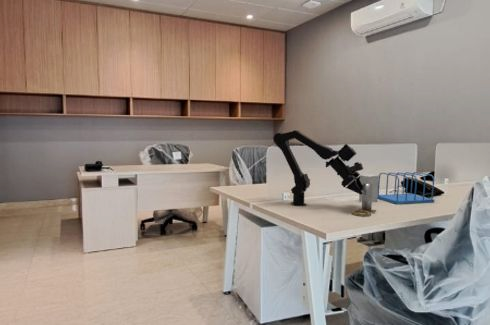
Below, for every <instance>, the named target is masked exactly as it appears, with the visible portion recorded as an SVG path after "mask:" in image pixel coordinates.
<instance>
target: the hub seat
mask: <svg viewBox="0 0 490 325" xmlns="http://www.w3.org/2000/svg"><path fill="white" fill-rule="evenodd" d="M350 214H351V215H353V216H355V217H362V218H369V217H371V216H372V213H371V212H369V211H364V210H358V209H354V210H353V209H352V211H351V213H350Z"/></svg>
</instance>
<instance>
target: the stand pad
mask: <svg viewBox="0 0 490 325" xmlns="http://www.w3.org/2000/svg"><path fill="white" fill-rule="evenodd" d="M357 210H362V207H360V208H358V209H357ZM376 212H377V210H376V209H372V210H371V215H372V214H373V215H374V214H376Z"/></svg>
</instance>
